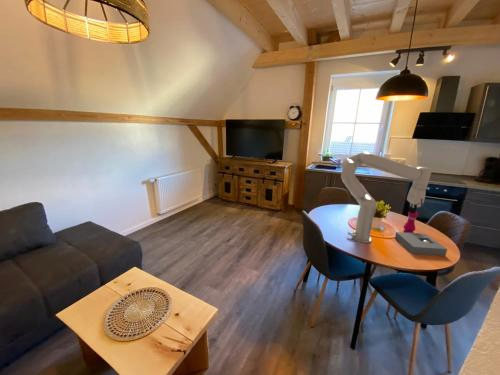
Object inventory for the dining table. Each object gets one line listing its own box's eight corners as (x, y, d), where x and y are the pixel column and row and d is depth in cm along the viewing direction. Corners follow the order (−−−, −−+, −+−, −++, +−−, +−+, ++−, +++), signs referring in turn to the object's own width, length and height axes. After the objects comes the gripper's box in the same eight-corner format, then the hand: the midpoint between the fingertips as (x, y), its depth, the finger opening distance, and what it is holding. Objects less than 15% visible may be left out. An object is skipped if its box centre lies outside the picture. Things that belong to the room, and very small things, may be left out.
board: (411, 253, 138) (413, 246, 137) (394, 238, 157) (396, 232, 156) (445, 256, 136) (447, 249, 135) (423, 240, 156) (425, 233, 154)
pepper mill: (415, 235, 161) (422, 211, 156) (405, 234, 163) (411, 210, 157) (411, 231, 168) (417, 207, 163) (400, 230, 170) (406, 206, 164)
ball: (433, 246, 143) (426, 250, 144) (428, 243, 148) (421, 246, 149) (430, 240, 142) (422, 244, 143) (425, 237, 147) (417, 241, 148)
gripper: (406, 182, 145) (399, 208, 150) (420, 189, 130) (412, 217, 136) (418, 183, 144) (411, 209, 149) (433, 190, 130) (425, 218, 135)
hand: (411, 212), depth 142 cm, fingers closed
